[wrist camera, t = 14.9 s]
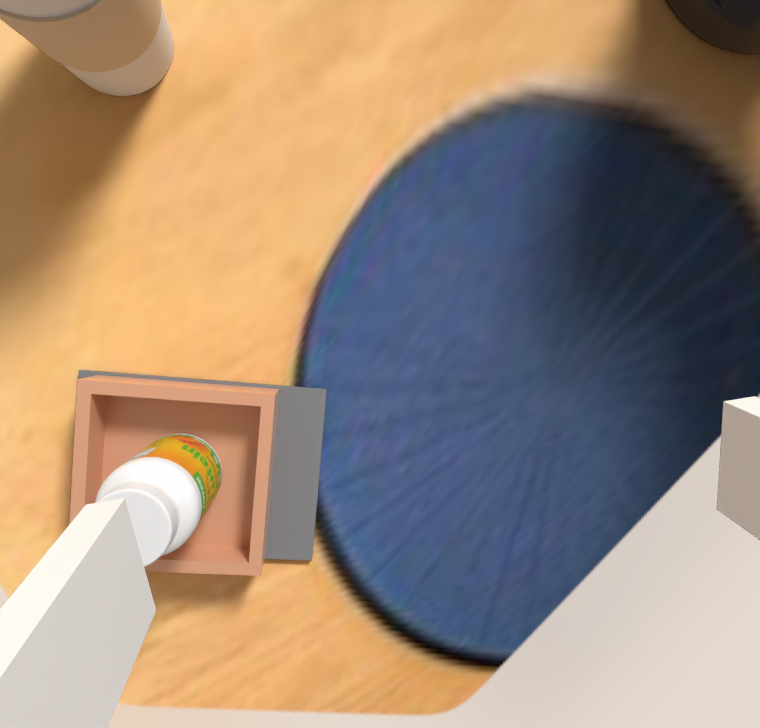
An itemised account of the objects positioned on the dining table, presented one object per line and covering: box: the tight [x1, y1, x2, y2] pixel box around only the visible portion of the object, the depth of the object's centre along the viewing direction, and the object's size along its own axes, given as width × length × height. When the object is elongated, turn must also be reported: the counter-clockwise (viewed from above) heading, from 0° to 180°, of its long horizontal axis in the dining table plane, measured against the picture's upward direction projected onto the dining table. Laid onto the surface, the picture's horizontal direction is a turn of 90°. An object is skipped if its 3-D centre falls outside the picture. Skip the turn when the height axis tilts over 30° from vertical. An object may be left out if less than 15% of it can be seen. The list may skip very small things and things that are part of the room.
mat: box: [78, 370, 327, 561], centre depth 35 cm, size 16×12×1 cm
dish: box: [69, 375, 279, 576], centre depth 34 cm, size 12×12×3 cm
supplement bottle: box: [95, 434, 222, 567], centre depth 30 cm, size 5×5×10 cm
